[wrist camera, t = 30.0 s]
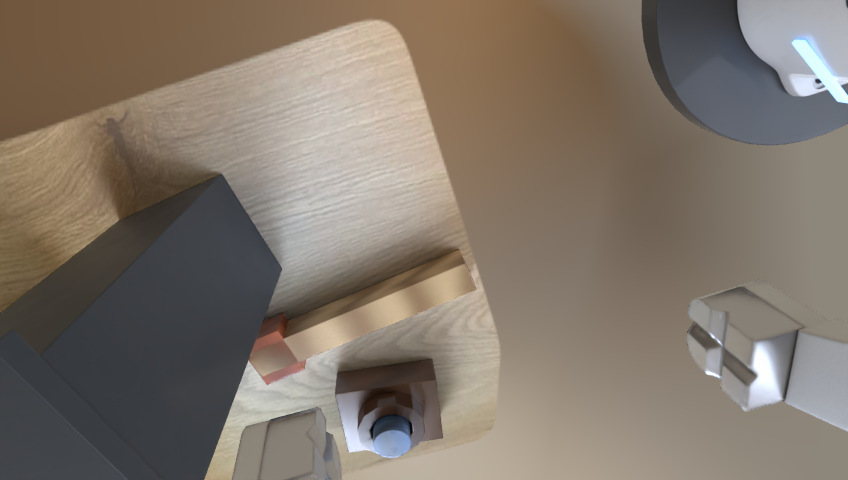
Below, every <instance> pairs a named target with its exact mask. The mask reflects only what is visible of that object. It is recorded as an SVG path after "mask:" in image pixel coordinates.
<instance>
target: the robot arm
mask: <svg viewBox="0 0 848 480" xmlns="http://www.w3.org/2000/svg"><path fill="white" fill-rule="evenodd" d="M737 8H738V18H739V23H740V27H741V30H742V33H743V36H744V38H745V40H746V42H747V44H748V45H749V47H750V48H751V50H752V51H753V52H754V53H755V54H756V55H757V56H758V57H759V58H760V59H761V60H763V61H764V62H766V63H767V64H769V65H770V66H771V67H773V68H774V69H775V70H776V71H777V72H778V75H779V77H780V79H781V82H782V84H783V86H784V88H785V90H786V91H787V92H788V93H789V94H790V95H792V96H801V97H804V96H809V95H812V94H816V93H819V92H822V91H825V90H829V91H830V93H831V94H832V95H833V96H834V98H835V99H836V100H837V101H838V102H844V103H848V95H847V94H846V93H845V91H844V90H843V89H842V88H841V86H840V85H843V84H846V83H848V0H737ZM815 79H817V80H816V81H815ZM688 316H689V317H690V318H691V319H692V320H693V321H694V322H693V324H692V325H691V327H690V328H689V330H688V331H687V346H688V348H689V351H690V354H691V356H692V358H693V359H694V361H695V362H696V364H697V365H698V366H699V367H700V368H701V369H702V370H703V371H704V372H705V373H706V374H709V375H712V376H714V377H717V378H719V379H720V384H721V389H722V390H723V391H724V392H725V393H726V394H727V395H728V396H729V397H731V398H732V399H733V400H734V401H735V402H736V403H737V404H738V405H739V406H740V407H741V408H742V409H743V410H744V411H748V410H752V409H756V408H759V407H763V406H767V405H770V404H774V403H778V402H781V401H785V403H787V404H789V405H791V406H793V407H796V408H798V409H800V410H802V411H805V412H807V413H809V414H811V415H813V416H815V417H817V418H820V419H822V420H824V421H826V422H828V423H830V424H833V425H835V426H837V427H839V428H841V429H844V430H846V431H848V321H845V320H841V319H834V320H828V319H827V318H825V317H823V316H821V315H820V314H819V313H817V312H815V311H814V310H812V309H810V308H809V307H807V306H806V305H804V304H802V303H801V302H799V301H798V300H796V299H794V298H793V297H791V296H789V295H788V294H786V293H785V292H783V291H781V290H780V289H778V288H776V287H775V286H773V285H771V284H770V283H768V282H766V281H763V280H755V281H752V282H749V283H746V284H742V285H739V286H736V287H734V288H730V289H727V290H723V291H720V292H716V293H713V294H709V295H706V296H703V297H699V298H696V299H693V300H692V301H691V302H690V304H689V309H688ZM341 477H342V476H341V464H340V458H339V452H338V449H337V446H336V442H335V440H334V437H333V435H332V434H330V433H328V432H326V419H325V416H324V414H323V412H322V410H321V408H318V407H316V408H312V409H308V410H305V411H301V412H297V413H293V414H289V415H286V416H282V417H278V418H274V419H271V420H269V421H265V422H261V423H257V424H253V425H249V426H246V428H245V429H244V430H243V432H242V435H241V439H240V444H239V449H238V453H237V458H236V463H235V467H234V472H233V477H232V480H342V478H341Z"/></svg>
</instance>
